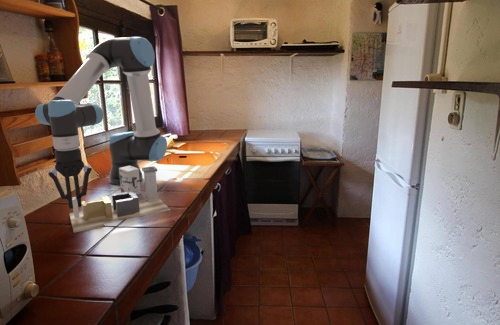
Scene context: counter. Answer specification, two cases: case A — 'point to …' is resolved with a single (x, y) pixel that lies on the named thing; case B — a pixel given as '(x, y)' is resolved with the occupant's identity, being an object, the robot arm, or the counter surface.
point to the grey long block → (150, 183)
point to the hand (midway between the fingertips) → (76, 216)
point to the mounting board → (99, 221)
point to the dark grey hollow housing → (125, 203)
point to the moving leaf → (97, 208)
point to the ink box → (129, 179)
